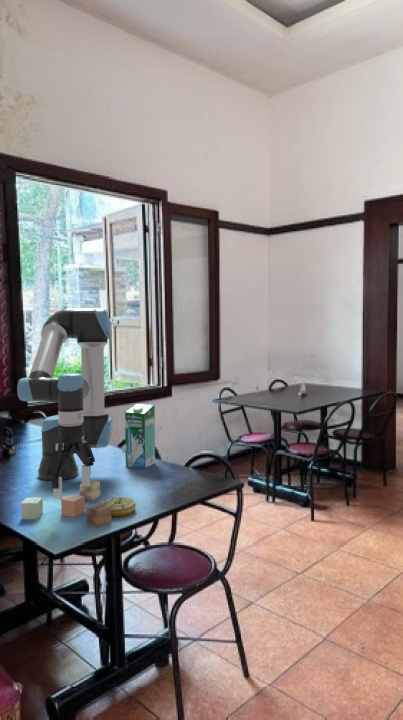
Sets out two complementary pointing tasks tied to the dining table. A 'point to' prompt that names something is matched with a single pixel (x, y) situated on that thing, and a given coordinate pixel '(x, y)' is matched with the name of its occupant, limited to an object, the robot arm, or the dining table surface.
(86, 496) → the beech cube
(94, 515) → the walnut cube
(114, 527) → the dining table surface
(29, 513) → the sage cube
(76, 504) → the terracotta cube
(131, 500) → the decorated donut
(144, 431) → the milk carton
